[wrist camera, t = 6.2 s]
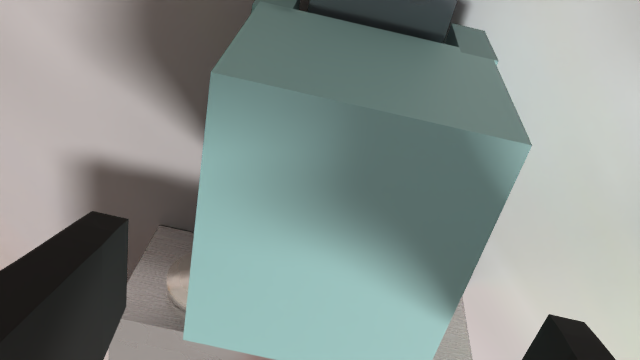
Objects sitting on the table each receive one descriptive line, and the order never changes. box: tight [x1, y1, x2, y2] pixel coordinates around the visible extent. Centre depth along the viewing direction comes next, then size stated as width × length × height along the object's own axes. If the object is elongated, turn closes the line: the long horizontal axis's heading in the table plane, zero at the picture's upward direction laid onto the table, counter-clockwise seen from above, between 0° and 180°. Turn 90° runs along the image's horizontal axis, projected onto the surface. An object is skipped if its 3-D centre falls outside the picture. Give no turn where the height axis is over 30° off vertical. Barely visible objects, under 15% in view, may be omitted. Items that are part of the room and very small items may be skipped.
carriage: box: [183, 0, 532, 360], centre depth 13 cm, size 5×6×6 cm
